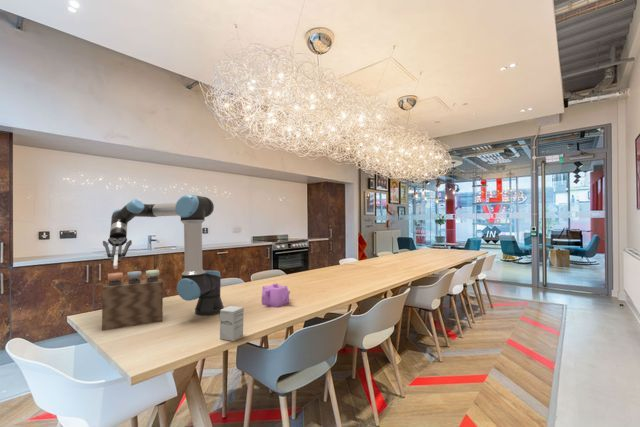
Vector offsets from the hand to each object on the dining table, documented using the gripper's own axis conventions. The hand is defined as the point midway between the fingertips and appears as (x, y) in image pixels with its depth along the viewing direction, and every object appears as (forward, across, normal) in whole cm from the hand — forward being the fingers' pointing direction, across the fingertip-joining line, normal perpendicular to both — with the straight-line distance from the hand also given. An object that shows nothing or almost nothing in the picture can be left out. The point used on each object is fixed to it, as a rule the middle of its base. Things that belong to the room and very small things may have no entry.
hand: (115, 267), depth 146 cm
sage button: (+5, -16, -5) cm, 17 cm away
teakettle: (+24, -83, -17) cm, 88 cm away
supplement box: (+52, -46, +12) cm, 70 cm away
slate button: (+5, -8, -5) cm, 11 cm away
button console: (+20, -8, -20) cm, 30 cm away
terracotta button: (+5, 0, -5) cm, 7 cm away
